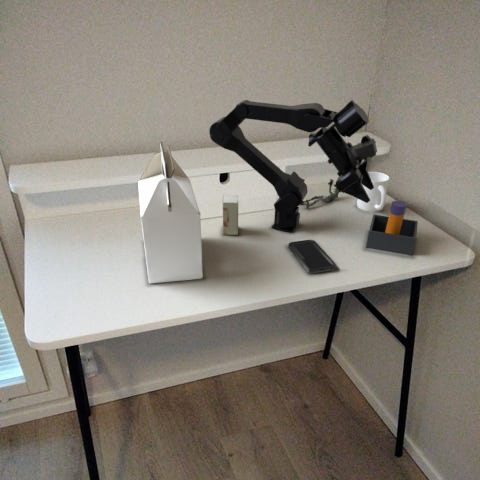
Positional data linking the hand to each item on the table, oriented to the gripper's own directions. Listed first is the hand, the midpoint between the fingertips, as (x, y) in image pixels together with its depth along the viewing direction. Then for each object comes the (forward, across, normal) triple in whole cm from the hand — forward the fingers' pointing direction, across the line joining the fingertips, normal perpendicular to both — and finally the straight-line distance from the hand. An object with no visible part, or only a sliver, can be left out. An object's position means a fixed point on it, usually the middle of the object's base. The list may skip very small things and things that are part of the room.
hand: (370, 195), depth 125 cm
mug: (+10, +21, +9) cm, 25 cm away
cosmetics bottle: (-17, -9, +35) cm, 40 cm away
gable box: (-23, -29, +42) cm, 56 cm away
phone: (+1, -16, +18) cm, 23 cm away
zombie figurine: (-1, +21, +20) cm, 30 cm away
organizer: (+15, 0, +4) cm, 15 cm away
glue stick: (+14, 0, +4) cm, 15 cm away
